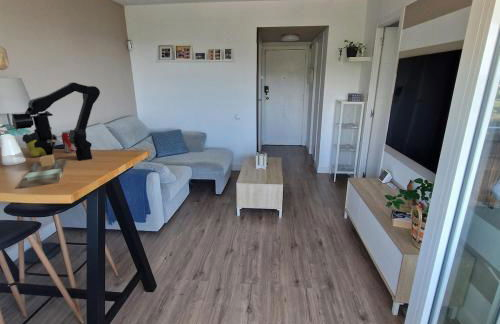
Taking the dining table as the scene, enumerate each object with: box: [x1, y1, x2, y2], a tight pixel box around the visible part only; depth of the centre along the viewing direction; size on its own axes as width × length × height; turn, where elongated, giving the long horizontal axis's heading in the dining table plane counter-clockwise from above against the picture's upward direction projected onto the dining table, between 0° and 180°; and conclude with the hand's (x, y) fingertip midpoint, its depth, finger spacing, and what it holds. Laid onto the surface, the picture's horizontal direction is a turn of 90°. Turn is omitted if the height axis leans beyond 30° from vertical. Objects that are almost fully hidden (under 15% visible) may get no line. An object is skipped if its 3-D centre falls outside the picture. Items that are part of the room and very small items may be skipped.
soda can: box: [60, 130, 77, 154], centre depth 160 cm, size 7×7×12 cm
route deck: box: [19, 158, 68, 189], centre depth 122 cm, size 12×32×4 cm, turn 27°
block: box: [39, 154, 56, 167], centre depth 128 cm, size 4×4×4 cm
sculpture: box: [25, 140, 55, 158], centre depth 154 cm, size 15×13×13 cm
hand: (50, 157), depth 134 cm, fingers closed
